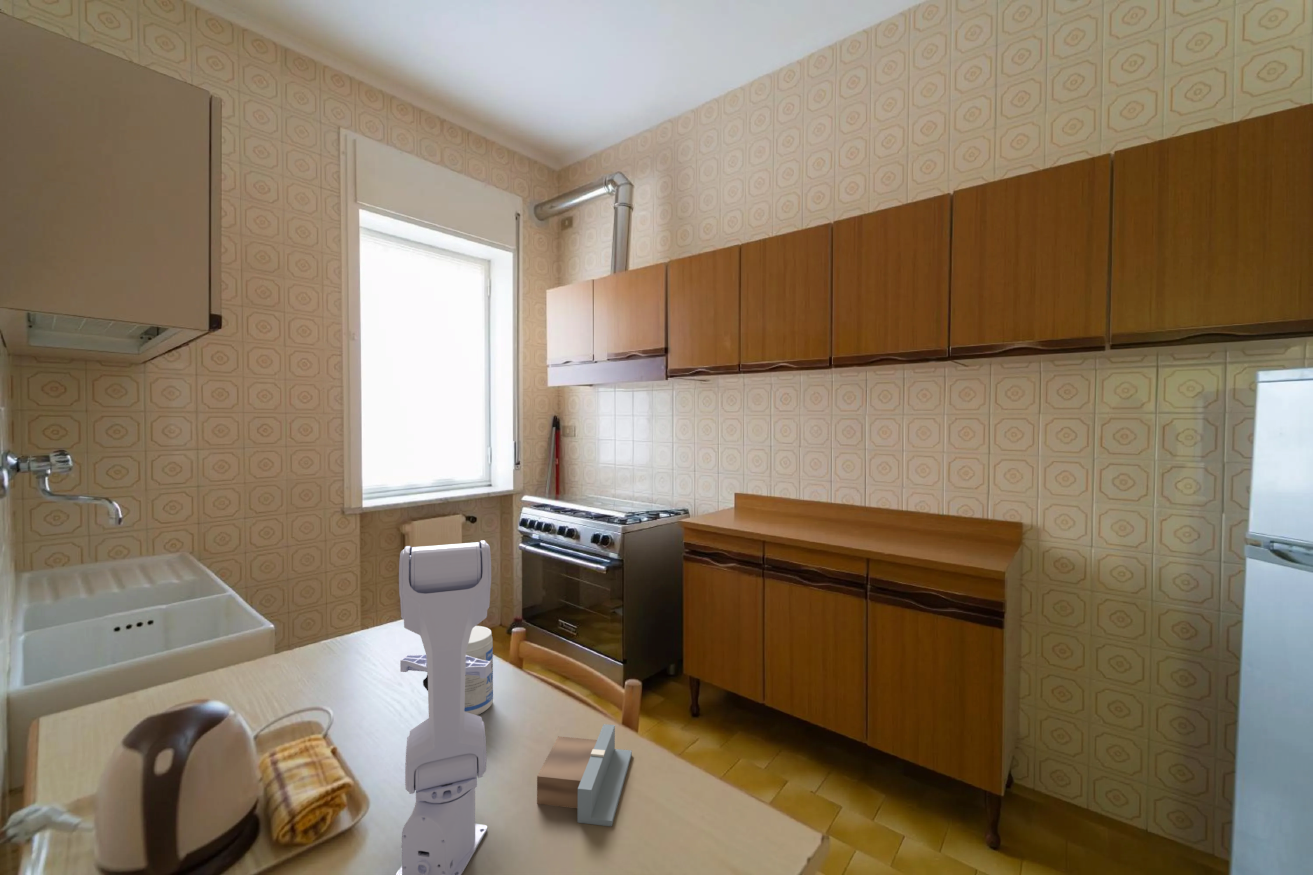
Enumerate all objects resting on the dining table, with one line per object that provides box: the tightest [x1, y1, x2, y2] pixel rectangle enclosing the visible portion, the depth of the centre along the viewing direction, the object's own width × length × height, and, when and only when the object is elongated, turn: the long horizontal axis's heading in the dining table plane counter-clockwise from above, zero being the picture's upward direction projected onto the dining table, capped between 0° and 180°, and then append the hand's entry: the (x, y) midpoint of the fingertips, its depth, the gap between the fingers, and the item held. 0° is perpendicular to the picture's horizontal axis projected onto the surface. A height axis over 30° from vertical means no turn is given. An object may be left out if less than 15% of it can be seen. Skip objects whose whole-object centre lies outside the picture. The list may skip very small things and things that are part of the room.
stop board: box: [577, 723, 633, 827], centre depth 83 cm, size 16×5×5 cm, turn 172°
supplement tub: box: [464, 625, 494, 716], centre depth 105 cm, size 10×10×15 cm
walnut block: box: [536, 736, 597, 809], centre depth 84 cm, size 10×7×4 cm
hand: (445, 716), depth 85 cm, fingers closed
